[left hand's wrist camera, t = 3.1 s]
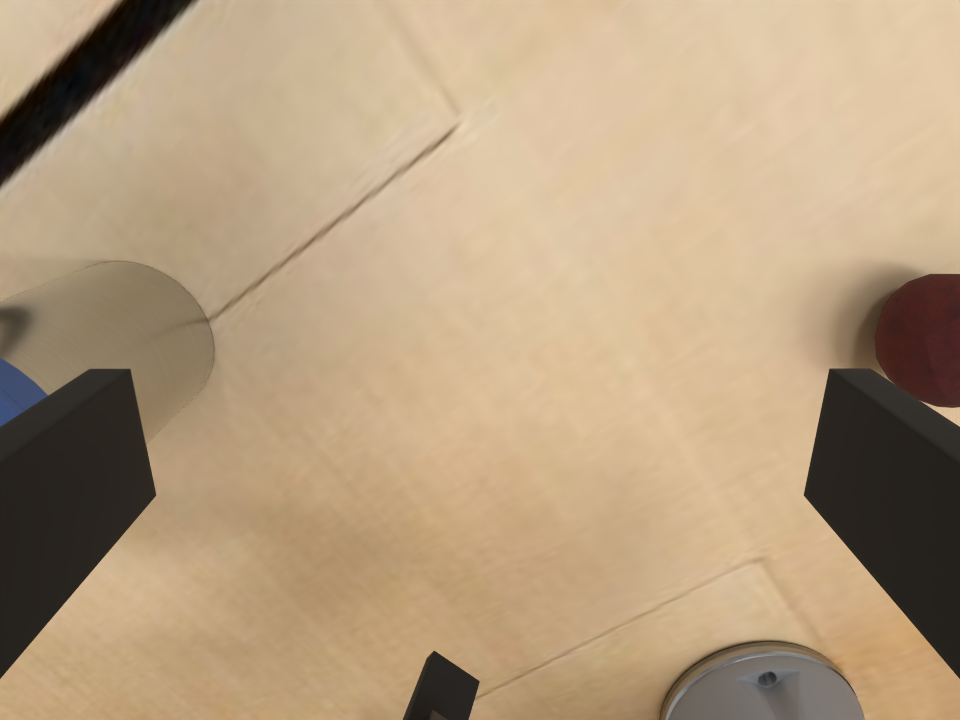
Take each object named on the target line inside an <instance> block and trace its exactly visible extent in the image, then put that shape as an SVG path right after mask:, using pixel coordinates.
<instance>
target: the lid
mask: <svg viewBox="0 0 960 720" xmlns="http://www.w3.org/2000/svg"><path fill="white" fill-rule="evenodd" d="M47 396H48V395H47V394H46V393H45V392H44V391H43V390H42V389H41V388H40V387H39V386H38V385H37V384H36V383H35V382H34V381H33V380H32V379H30V378H29V377H28V376H27V375H25V374H24V373H23V372H21V371H20V370H19V369H17V368H16V367H14V366H13V365H11V364H10V363H8V362H7V361H5V360H3V359H2V358H0V427H1V426H2V425H4V424H5V423H7V422H9V421H10V420H12V419H13V418H15V417H16V416H18V415H19V414H21V413H22V412H24V411H25V410H27V409H29V408H30V407H32V406H33V405H35V404H36V403H38V402H39V401H41V400H42V399H44V398H45V397H47Z"/></svg>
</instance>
